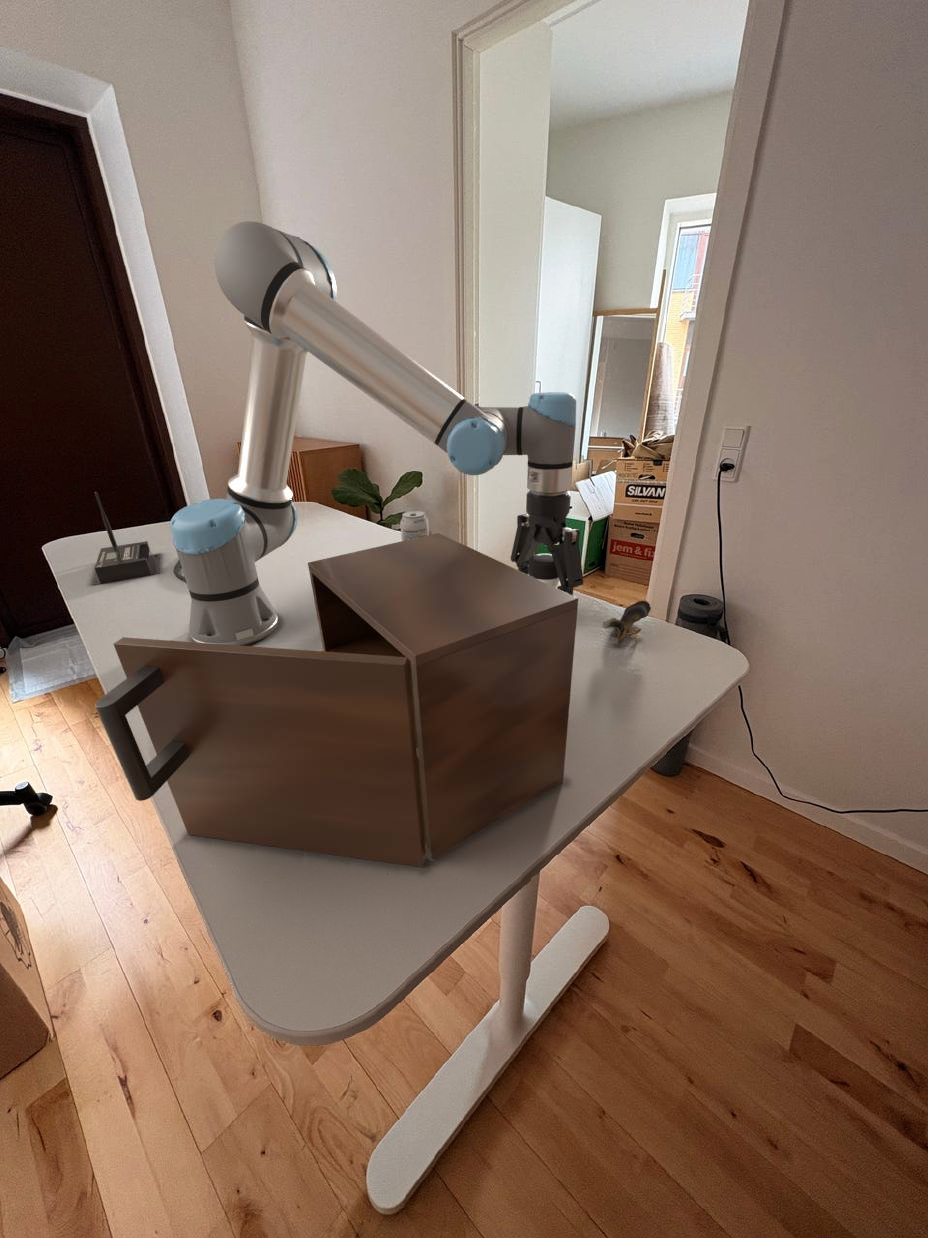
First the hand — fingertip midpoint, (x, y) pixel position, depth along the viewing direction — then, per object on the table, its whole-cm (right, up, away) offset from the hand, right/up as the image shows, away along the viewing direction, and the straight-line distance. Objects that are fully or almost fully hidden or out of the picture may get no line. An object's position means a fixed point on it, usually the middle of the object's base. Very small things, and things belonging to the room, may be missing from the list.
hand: (542, 607), depth 98 cm
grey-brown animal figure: (+13, -6, -7) cm, 16 cm away
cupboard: (-18, -19, -32) cm, 42 cm away
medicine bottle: (0, -2, +1) cm, 2 cm away
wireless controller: (-100, +11, +31) cm, 105 cm away
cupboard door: (-32, -27, -47) cm, 63 cm away
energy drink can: (-26, +7, +19) cm, 33 cm away
